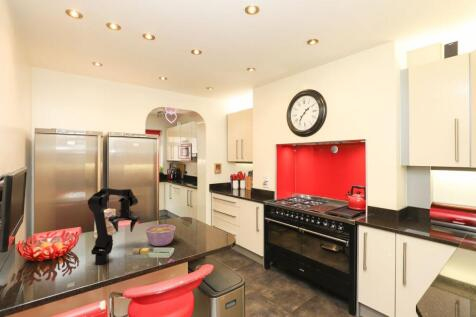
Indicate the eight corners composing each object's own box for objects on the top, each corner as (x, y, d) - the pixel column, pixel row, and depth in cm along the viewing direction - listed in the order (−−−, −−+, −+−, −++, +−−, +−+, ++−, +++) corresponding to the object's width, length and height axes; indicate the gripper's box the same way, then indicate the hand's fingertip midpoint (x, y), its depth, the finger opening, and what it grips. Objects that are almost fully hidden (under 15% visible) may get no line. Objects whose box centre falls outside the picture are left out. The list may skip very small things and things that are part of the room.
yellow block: (146, 255, 140) (146, 250, 140) (140, 255, 140) (140, 250, 140) (149, 252, 144) (149, 248, 144) (143, 252, 144) (143, 248, 144)
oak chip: (138, 255, 140) (138, 250, 140) (132, 255, 140) (132, 250, 140) (141, 252, 144) (141, 248, 144) (135, 252, 144) (135, 247, 144)
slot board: (147, 259, 137) (147, 255, 137) (124, 259, 137) (124, 255, 137) (154, 252, 148) (154, 248, 148) (132, 251, 148) (133, 248, 148)
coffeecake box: (102, 239, 171) (102, 212, 172) (93, 238, 173) (94, 212, 173) (115, 232, 186) (116, 208, 186) (107, 232, 187) (108, 208, 187)
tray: (169, 259, 138) (169, 253, 138) (148, 258, 138) (148, 253, 138) (174, 253, 147) (174, 247, 147) (153, 252, 147) (153, 247, 147)
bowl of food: (180, 241, 168) (180, 225, 168) (165, 252, 149) (165, 234, 149) (157, 238, 173) (157, 223, 173) (138, 248, 154) (139, 231, 154)
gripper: (144, 206, 159) (143, 228, 158) (117, 205, 159) (116, 228, 158) (137, 209, 148) (136, 233, 147) (108, 208, 148) (107, 233, 147)
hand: (124, 231), depth 150 cm, fingers open, 9 cm apart
